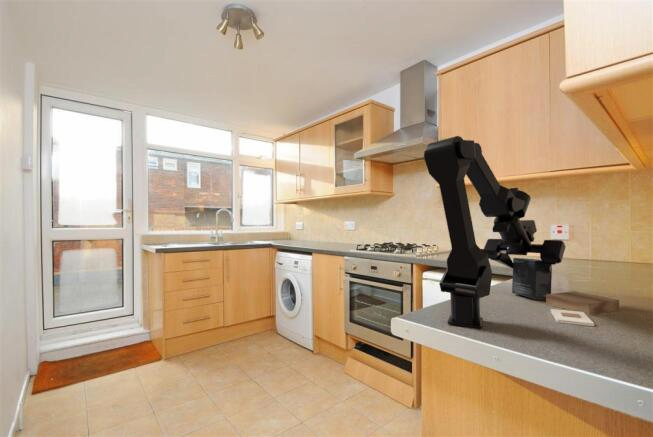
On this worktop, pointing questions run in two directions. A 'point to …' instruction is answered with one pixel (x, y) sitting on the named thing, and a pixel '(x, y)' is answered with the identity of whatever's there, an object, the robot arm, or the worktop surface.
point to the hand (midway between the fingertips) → (530, 268)
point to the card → (571, 317)
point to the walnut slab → (582, 302)
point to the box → (531, 278)
